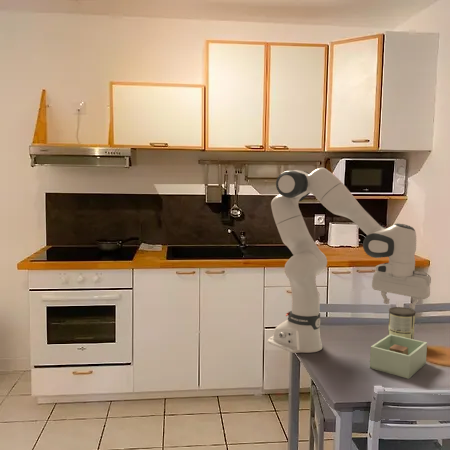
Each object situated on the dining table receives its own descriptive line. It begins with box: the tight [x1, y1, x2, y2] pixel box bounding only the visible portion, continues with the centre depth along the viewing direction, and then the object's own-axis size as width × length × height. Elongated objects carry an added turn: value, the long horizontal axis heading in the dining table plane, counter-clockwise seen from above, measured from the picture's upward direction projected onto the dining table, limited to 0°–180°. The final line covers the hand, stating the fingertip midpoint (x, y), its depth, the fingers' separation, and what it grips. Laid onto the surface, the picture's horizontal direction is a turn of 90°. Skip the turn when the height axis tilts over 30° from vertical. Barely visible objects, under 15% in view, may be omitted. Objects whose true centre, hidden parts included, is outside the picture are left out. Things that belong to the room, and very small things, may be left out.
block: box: [389, 344, 408, 355], centre depth 174 cm, size 5×5×6 cm
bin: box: [369, 334, 428, 380], centre depth 174 cm, size 14×18×8 cm
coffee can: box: [387, 306, 416, 340], centre depth 197 cm, size 10×10×14 cm
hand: (399, 306), depth 174 cm, fingers open, 8 cm apart
